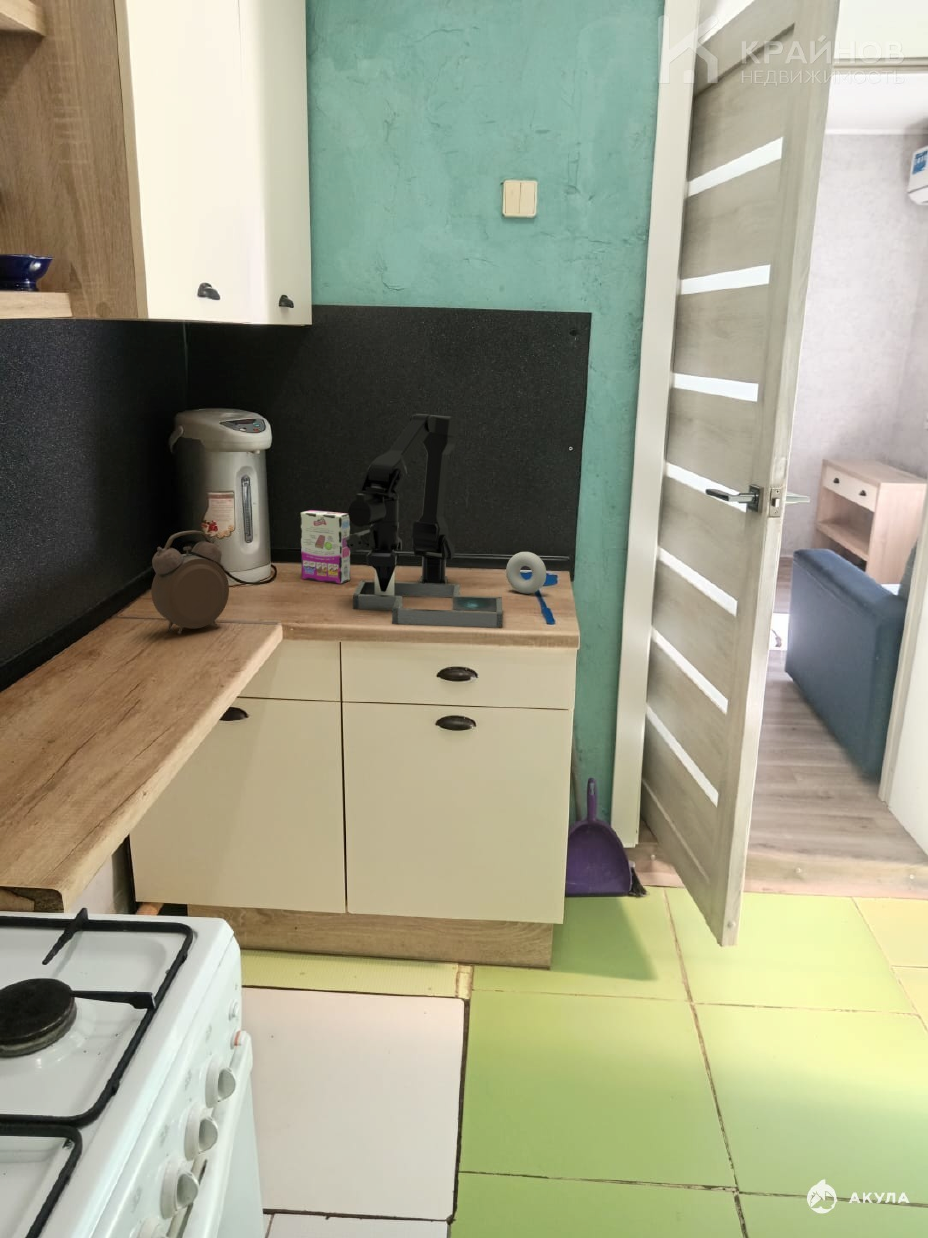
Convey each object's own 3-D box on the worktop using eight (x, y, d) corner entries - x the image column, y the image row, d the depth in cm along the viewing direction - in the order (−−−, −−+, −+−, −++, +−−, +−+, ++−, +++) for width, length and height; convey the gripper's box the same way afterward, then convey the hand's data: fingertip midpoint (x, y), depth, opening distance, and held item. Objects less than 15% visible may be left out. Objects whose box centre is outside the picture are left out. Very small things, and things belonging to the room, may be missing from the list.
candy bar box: (351, 580, 238) (351, 513, 234) (341, 584, 234) (341, 516, 229) (311, 574, 242) (310, 508, 238) (300, 579, 238) (299, 511, 233)
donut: (547, 594, 231) (549, 553, 228) (542, 598, 228) (544, 555, 225) (508, 588, 235) (510, 547, 232) (502, 591, 232) (504, 550, 229)
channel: (360, 592, 227) (360, 580, 226) (500, 598, 227) (501, 585, 226) (346, 621, 205) (346, 608, 204) (502, 627, 204) (502, 613, 203)
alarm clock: (213, 619, 203) (209, 523, 198) (232, 627, 199) (229, 529, 193) (148, 632, 194) (142, 532, 188) (166, 641, 189) (160, 538, 183)
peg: (375, 598, 223) (375, 560, 220) (395, 599, 223) (395, 560, 220) (373, 604, 218) (373, 564, 216) (393, 604, 218) (393, 565, 216)
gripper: (353, 510, 224) (353, 577, 229) (342, 526, 206) (342, 598, 211) (402, 512, 224) (401, 579, 229) (395, 528, 206) (394, 600, 211)
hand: (384, 588), depth 220 cm, fingers closed on peg, 4 cm apart
